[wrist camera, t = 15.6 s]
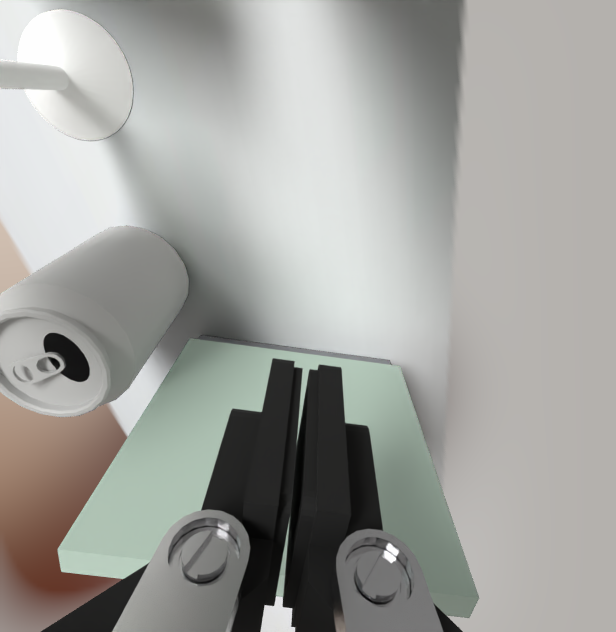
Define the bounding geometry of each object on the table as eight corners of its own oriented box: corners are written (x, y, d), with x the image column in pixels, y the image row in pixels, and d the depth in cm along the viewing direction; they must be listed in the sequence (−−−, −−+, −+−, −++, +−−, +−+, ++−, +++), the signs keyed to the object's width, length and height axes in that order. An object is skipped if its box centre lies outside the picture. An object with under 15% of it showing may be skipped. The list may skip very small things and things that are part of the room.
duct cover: (189, 352, 29) (190, 338, 29) (396, 380, 30) (399, 365, 29) (61, 571, 15) (57, 549, 14) (469, 618, 15) (479, 597, 15)
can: (208, 305, 31) (148, 414, 20) (120, 327, 32) (20, 442, 22) (165, 208, 28) (66, 280, 17) (68, 237, 29) (-80, 321, 18)
